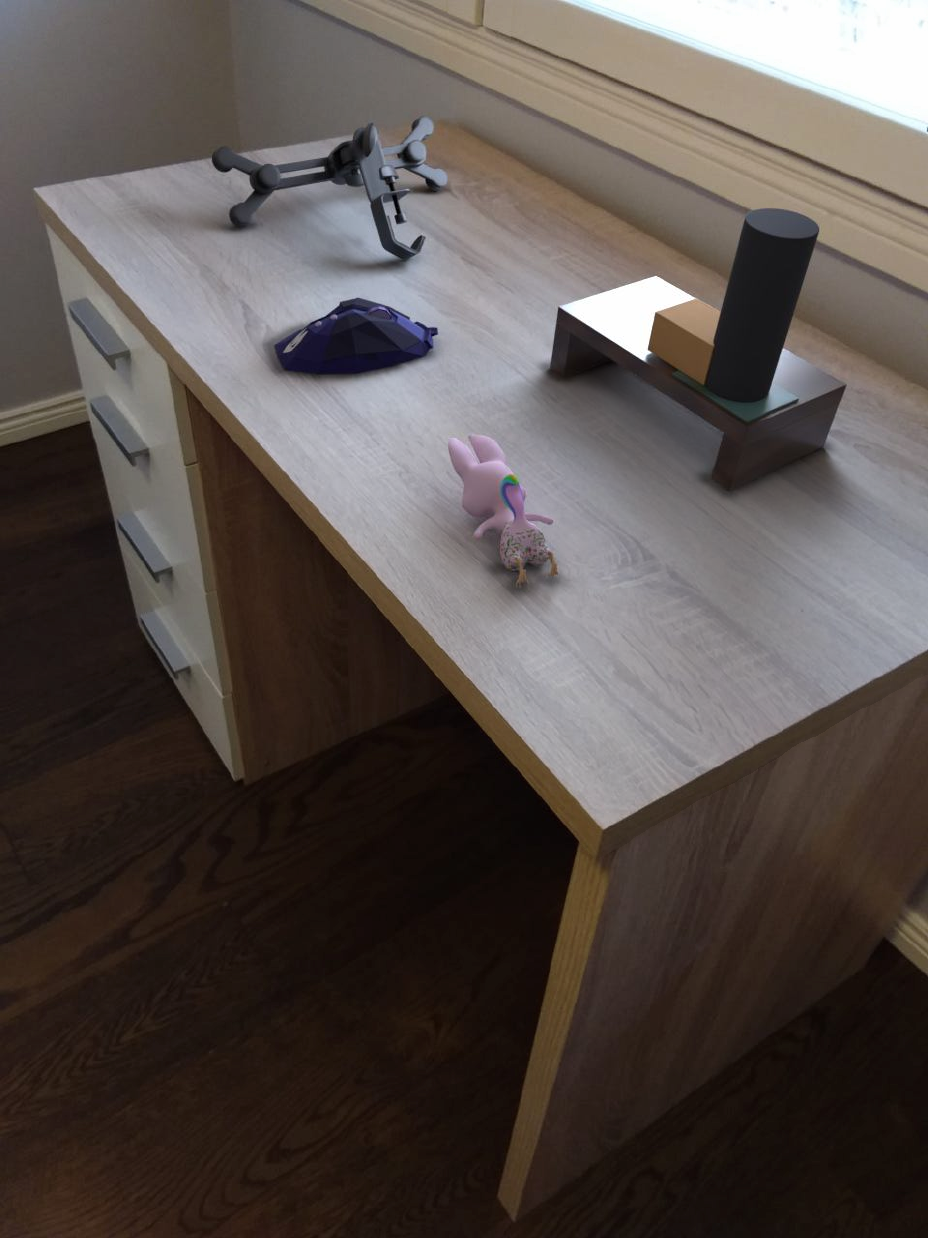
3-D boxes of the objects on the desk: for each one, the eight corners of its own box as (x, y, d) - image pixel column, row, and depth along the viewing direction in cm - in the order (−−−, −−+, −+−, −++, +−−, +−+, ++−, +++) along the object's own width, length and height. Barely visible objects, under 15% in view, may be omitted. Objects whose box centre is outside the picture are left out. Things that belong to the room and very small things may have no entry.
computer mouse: (267, 329, 95) (264, 288, 92) (421, 314, 98) (423, 275, 96) (286, 381, 88) (283, 339, 86) (449, 363, 92) (452, 323, 89)
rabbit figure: (573, 587, 73) (495, 446, 81) (591, 532, 69) (506, 387, 77) (493, 606, 71) (421, 459, 79) (506, 550, 67) (428, 400, 75)
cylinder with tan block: (782, 390, 80) (835, 229, 71) (738, 409, 78) (786, 244, 69) (689, 334, 86) (726, 178, 77) (645, 350, 84) (678, 190, 75)
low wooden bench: (824, 446, 86) (848, 382, 82) (728, 491, 81) (748, 425, 76) (643, 334, 98) (656, 273, 94) (549, 367, 93) (558, 304, 89)
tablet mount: (464, 261, 123) (426, 117, 119) (526, 229, 110) (486, 68, 107) (257, 308, 111) (208, 151, 108) (301, 279, 99) (247, 100, 95)
